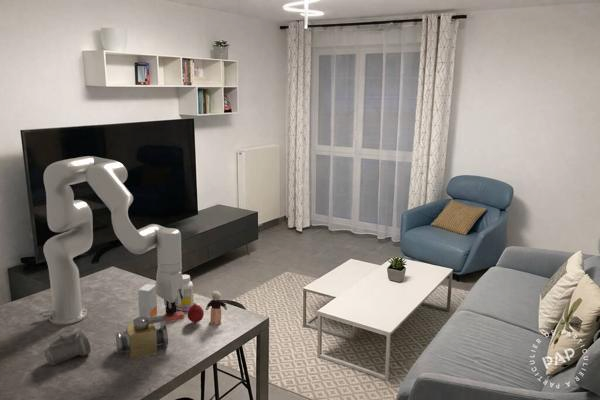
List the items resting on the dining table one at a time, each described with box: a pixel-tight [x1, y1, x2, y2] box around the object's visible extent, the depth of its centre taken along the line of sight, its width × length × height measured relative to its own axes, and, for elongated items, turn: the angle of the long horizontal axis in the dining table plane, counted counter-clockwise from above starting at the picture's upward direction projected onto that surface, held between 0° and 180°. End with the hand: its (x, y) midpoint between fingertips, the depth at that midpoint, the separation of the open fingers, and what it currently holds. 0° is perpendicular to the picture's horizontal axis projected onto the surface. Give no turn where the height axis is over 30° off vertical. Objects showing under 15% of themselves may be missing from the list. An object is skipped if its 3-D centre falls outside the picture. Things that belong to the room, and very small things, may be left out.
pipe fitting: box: [44, 325, 91, 367], centre depth 149 cm, size 12×8×10 cm
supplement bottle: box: [176, 274, 195, 312], centre depth 185 cm, size 7×7×13 cm
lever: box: [132, 310, 185, 330], centre depth 157 cm, size 16×5×2 cm, turn 116°
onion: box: [186, 302, 205, 324], centre depth 174 cm, size 6×6×8 cm
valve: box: [115, 322, 169, 359], centre depth 156 cm, size 15×8×8 cm, turn 115°
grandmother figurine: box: [205, 290, 228, 326], centre depth 174 cm, size 8×4×13 cm, turn 102°
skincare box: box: [137, 283, 158, 318], centre depth 177 cm, size 6×4×12 cm
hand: (171, 316), depth 162 cm, fingers closed
